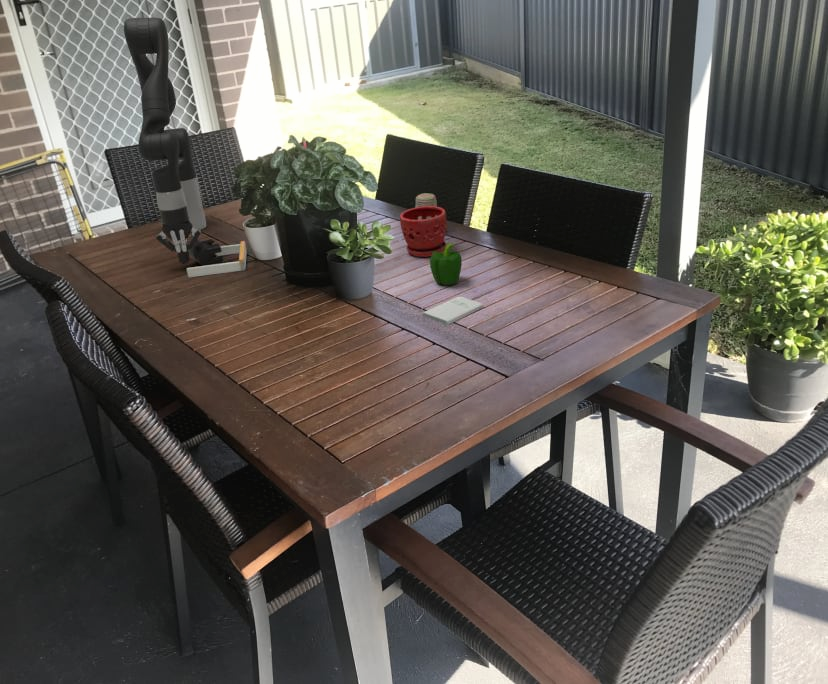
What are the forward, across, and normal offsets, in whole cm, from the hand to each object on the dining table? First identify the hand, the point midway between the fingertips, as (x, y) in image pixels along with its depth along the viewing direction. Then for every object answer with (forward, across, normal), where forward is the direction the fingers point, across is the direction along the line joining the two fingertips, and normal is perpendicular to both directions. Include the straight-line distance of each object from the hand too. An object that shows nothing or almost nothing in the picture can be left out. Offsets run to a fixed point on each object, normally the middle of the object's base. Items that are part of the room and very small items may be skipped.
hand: (185, 263), depth 213 cm
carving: (+2, -73, -5) cm, 74 cm away
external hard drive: (+2, -68, +56) cm, 88 cm away
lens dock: (+2, -9, 0) cm, 10 cm away
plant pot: (+2, -70, +12) cm, 71 cm away
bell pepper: (+2, -71, +37) cm, 80 cm away
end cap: (+2, -6, -1) cm, 7 cm away
